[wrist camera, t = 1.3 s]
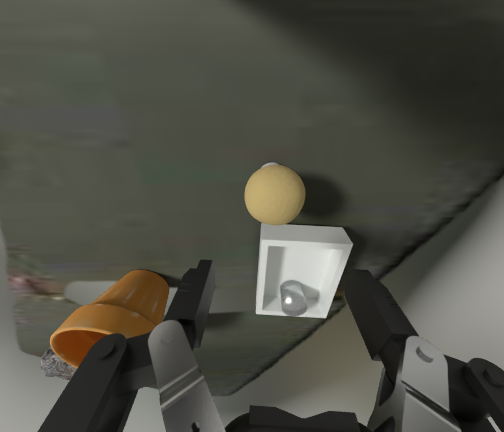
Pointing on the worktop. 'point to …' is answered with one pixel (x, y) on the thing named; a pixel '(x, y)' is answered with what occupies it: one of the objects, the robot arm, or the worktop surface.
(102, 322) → the flower pot
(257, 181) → the amber frosted bulb
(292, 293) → the grey rounded piece
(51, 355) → the rock
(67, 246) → the worktop surface
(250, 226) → the worktop surface
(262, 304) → the tray
